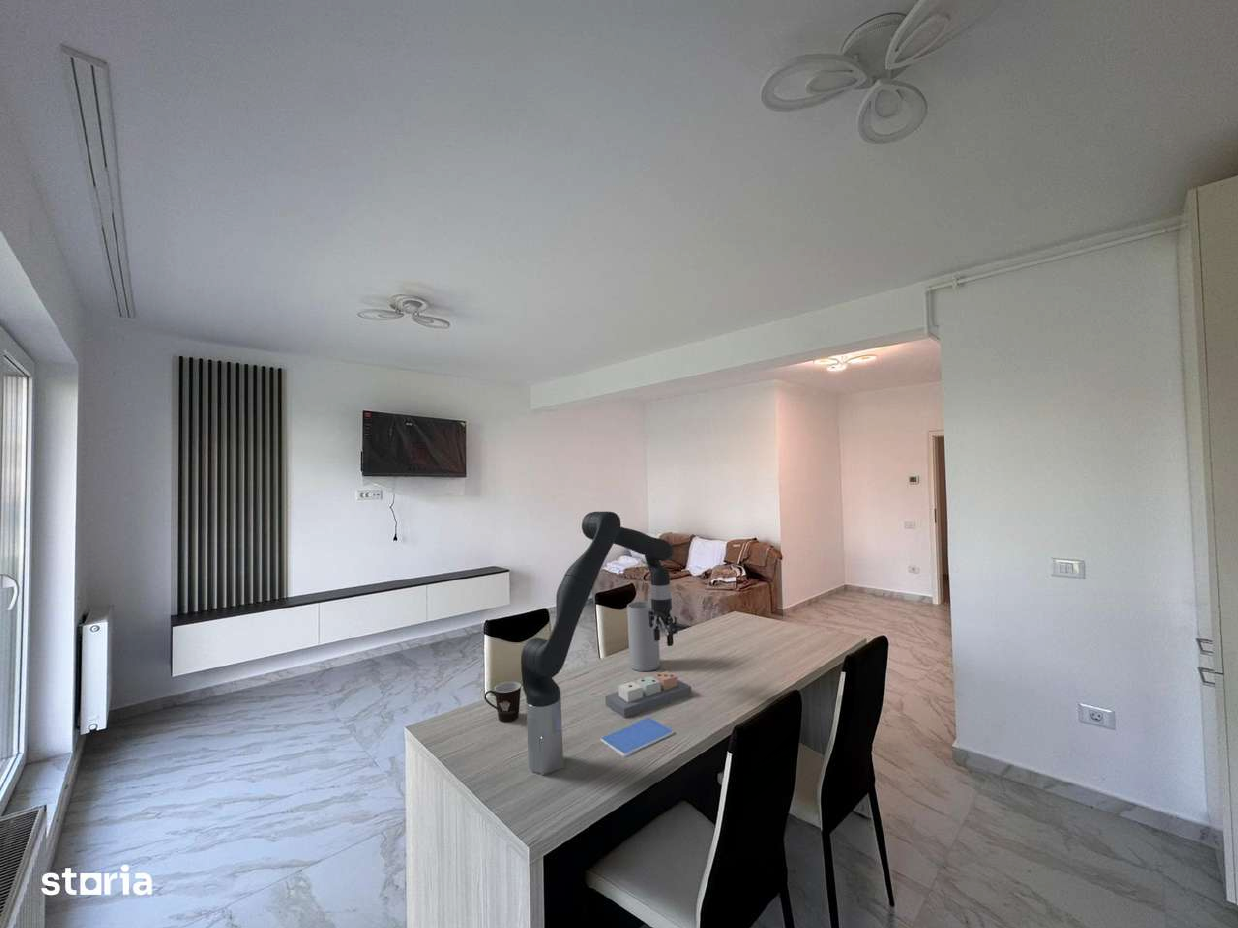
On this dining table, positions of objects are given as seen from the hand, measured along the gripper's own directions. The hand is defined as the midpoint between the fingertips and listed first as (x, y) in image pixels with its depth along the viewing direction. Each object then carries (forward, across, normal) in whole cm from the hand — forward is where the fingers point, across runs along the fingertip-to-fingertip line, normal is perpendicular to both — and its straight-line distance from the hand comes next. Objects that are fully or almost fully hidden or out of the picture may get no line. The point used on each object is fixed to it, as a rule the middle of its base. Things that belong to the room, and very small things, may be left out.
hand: (663, 642), depth 173 cm
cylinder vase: (+18, +27, -10) cm, 34 cm away
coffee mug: (+18, +19, +52) cm, 59 cm away
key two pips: (+15, 0, +7) cm, 17 cm away
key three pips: (+15, 0, 0) cm, 15 cm away
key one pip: (+15, 0, +15) cm, 21 cm away
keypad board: (+18, 0, +8) cm, 19 cm away
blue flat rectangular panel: (+19, -18, +25) cm, 36 cm away
